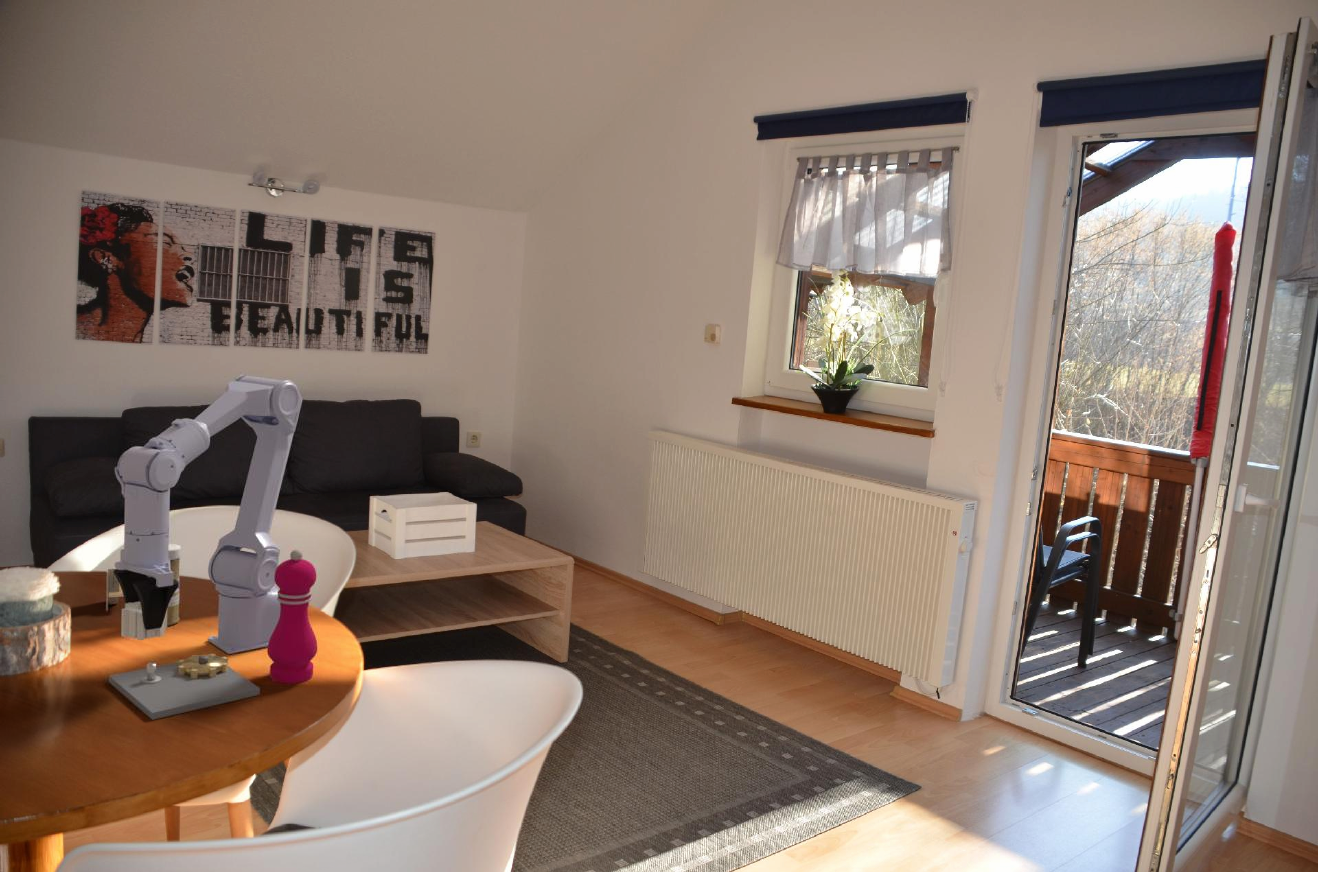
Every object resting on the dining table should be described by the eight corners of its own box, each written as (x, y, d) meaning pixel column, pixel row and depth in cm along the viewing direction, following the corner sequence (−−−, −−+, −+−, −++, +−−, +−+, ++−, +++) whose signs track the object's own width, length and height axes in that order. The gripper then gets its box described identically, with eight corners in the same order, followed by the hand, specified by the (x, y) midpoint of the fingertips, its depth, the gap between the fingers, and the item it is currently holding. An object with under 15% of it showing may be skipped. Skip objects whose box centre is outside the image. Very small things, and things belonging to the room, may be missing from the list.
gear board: (211, 661, 159) (212, 639, 159) (259, 694, 148) (260, 671, 148) (108, 681, 148) (109, 658, 148) (152, 719, 137) (152, 695, 137)
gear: (158, 623, 151) (159, 597, 151) (173, 634, 148) (174, 608, 147) (115, 630, 147) (115, 604, 146) (129, 642, 143) (130, 614, 143)
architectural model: (128, 602, 183) (128, 562, 182) (128, 614, 177) (129, 573, 176) (106, 603, 182) (106, 563, 181) (106, 615, 176) (106, 574, 175)
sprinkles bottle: (181, 625, 173) (183, 548, 171) (151, 628, 171) (153, 550, 169) (177, 617, 177) (178, 542, 175) (147, 619, 174) (149, 543, 173)
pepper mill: (269, 687, 151) (274, 556, 149) (263, 669, 158) (268, 544, 155) (319, 682, 155) (325, 555, 152) (312, 665, 161) (317, 542, 158)
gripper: (98, 522, 147) (97, 612, 149) (136, 545, 138) (134, 641, 139) (149, 517, 152) (147, 605, 154) (189, 539, 143) (187, 632, 145)
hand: (144, 622), depth 147 cm, fingers closed on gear, 6 cm apart
